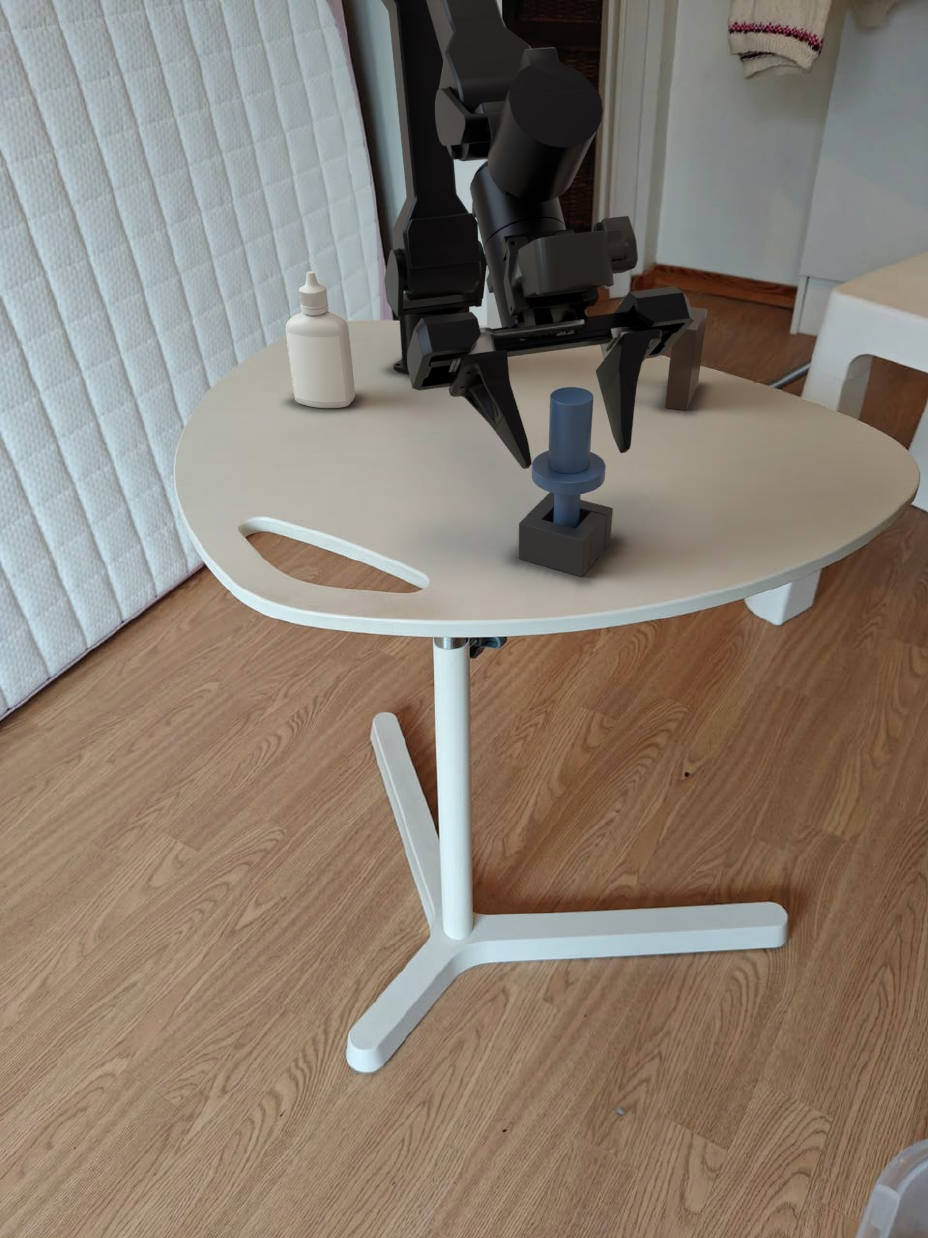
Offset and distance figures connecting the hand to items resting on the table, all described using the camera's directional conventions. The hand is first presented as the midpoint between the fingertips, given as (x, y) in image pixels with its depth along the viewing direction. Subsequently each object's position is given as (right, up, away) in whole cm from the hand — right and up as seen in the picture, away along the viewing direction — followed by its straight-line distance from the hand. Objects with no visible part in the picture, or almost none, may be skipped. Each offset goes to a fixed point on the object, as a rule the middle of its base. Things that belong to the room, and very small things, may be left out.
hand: (577, 458), depth 65 cm
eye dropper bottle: (-21, +10, +28) cm, 36 cm away
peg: (0, -6, +6) cm, 8 cm away
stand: (+11, +11, +27) cm, 31 cm away
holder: (0, -6, +6) cm, 8 cm away
